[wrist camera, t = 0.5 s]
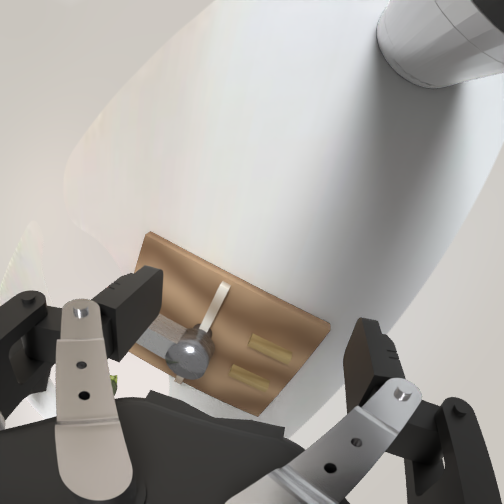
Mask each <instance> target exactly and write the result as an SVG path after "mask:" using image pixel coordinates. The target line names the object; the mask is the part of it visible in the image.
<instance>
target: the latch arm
mask: <svg viewBox="0 0 504 504" xmlns="http://www.w3.org/2000/svg"><path fill="white" fill-rule="evenodd" d="M107 288H108V287H107ZM136 343H138V344H139V345H141V346H143V347H144V348H146V349H148V350H150V351H151V352H153V353H155V354H157V355H158V356H160V357H162V358H164V359H165V360H166V363H167V365H168V367H169V368H170V369H171V370H172V371H173V372H174V373H175V374H176V375H178V376H180V377H182V378H185V379H191V380H194V379H199V378H201V377H202V376H203V375H204V373H205V371H206V369H207V367H208V365H209V363H210V360H211V358H212V356H213V354H214V351H215V346H214V343H213V341H212V339H211V338H210V337H209V336H208V335H207V334H206V333H204V332H203V331H200V330H198V329H194V328H185V327H183V326H181V325H179V324H177V323H176V322H174V321H172V320H170V319H168V318H166V317H165V316H163V315H161V314H159V315H158V317H157V318H156V319H155V320H154V321H153V323H152V324H151V325H150V326H149V327H148V329H147V330H146V331H145V332H144V333H143V334H142V336H141V337H140V338H139V339H138V340H137V342H136Z"/></svg>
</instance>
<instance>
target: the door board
mask: <svg viewBox="0 0 504 504" xmlns="http://www.w3.org/2000/svg"><path fill="white" fill-rule="evenodd" d="M144 265H147V266H151V267H154V268H158V269H162V270H163V292H162V306H161V310H160V313H159V314H161V315H163V316H165V317H166V318H168V319H170V320H172V321H174V322H176V323H177V324H179V325H181V326H183V327H185V328H194V329H198V330H200V331H203V332H204V333H206V334H207V335H208V336H209V337H210V338H211V339H212V341H213V343H214V346H215V351H214V354H213V356H212V358H211V360H210V363H209V365H208V367H207V369H206V371H205V373H204V375H203V376H202V377H201V378H199V379H194V380H191V379H185V378H182V377H180V376H178V375H176V374H175V373H174V372H173V371H172V370H171V369H170V368H169V367H168V365H167V363H166V360H165V359H164V358H162V357H160V356H158V355H157V354H155V353H153V352H151V351H150V350H148V349H146V348H144V347H143V346H141V345H139V344H138V343H135V344H134V345H133V346H132V348H131V349H130V350H129V352H131V353H132V354H134V355H135V356H137V357H139V358H140V359H142V360H144V361H146V362H147V363H149V364H151V365H153V366H154V367H156V368H158V369H160V370H162V371H164V372H165V373H167V374H169V375H171V376H173V377H175V380H174V381H175V382H177V383H179V384H181V383H182V382H184V383H186V384H188V385H190V386H192V387H194V388H196V389H198V390H200V391H202V392H204V393H206V394H208V395H210V396H212V397H214V398H216V399H219V400H221V401H223V402H225V403H227V404H229V405H232V406H234V407H236V408H238V409H241V410H243V411H245V412H248V413H250V414H252V415H255V416H257V417H258V416H259V415H260V414H261V413H262V412H263V411H264V409H265V408H266V407H267V406H268V405H269V404H270V403H271V402H272V401H273V399H274V398H275V397H276V396H277V395H278V394H279V393H280V391H281V390H282V389H283V388H284V387H285V386H286V384H287V383H288V382H289V381H290V380H291V379H292V377H293V376H294V375H295V374H296V373H297V371H298V370H299V369H300V368H301V367H302V365H303V364H304V363H305V362H306V361H307V359H308V358H309V357H310V356H311V354H312V353H313V352H314V351H315V349H316V348H317V347H318V346H319V344H320V343H321V342H322V340H323V339H324V338H325V337H326V335H327V334H328V333H329V331H330V323H328V322H326V321H324V320H321V319H319V318H317V317H315V316H313V315H311V314H309V313H307V312H305V311H303V310H301V309H299V308H297V307H295V306H293V305H291V304H289V303H287V302H285V301H283V300H281V299H279V298H277V297H275V296H273V295H271V294H269V293H267V292H265V291H263V290H262V289H260V288H258V287H256V286H254V285H252V284H250V283H248V282H246V281H244V280H242V279H240V278H238V277H236V276H234V275H232V274H230V273H228V272H227V271H225V270H223V269H221V268H219V267H217V266H215V265H213V264H211V263H209V262H207V261H205V260H204V259H202V258H200V257H198V256H196V255H194V254H192V253H190V252H188V251H187V250H185V249H183V248H181V247H179V246H177V245H175V244H173V243H172V242H170V241H168V240H166V239H164V238H162V237H160V236H159V235H157V234H155V233H153V232H151V231H150V232H149V233H147V234H146V235H145V238H144V241H143V244H142V248H141V251H140V254H139V258H138V261H137V265H136V268H135V272H137V271H138V270H139V269H140V268H142V267H143V266H144ZM135 272H134V273H135Z"/></svg>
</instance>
